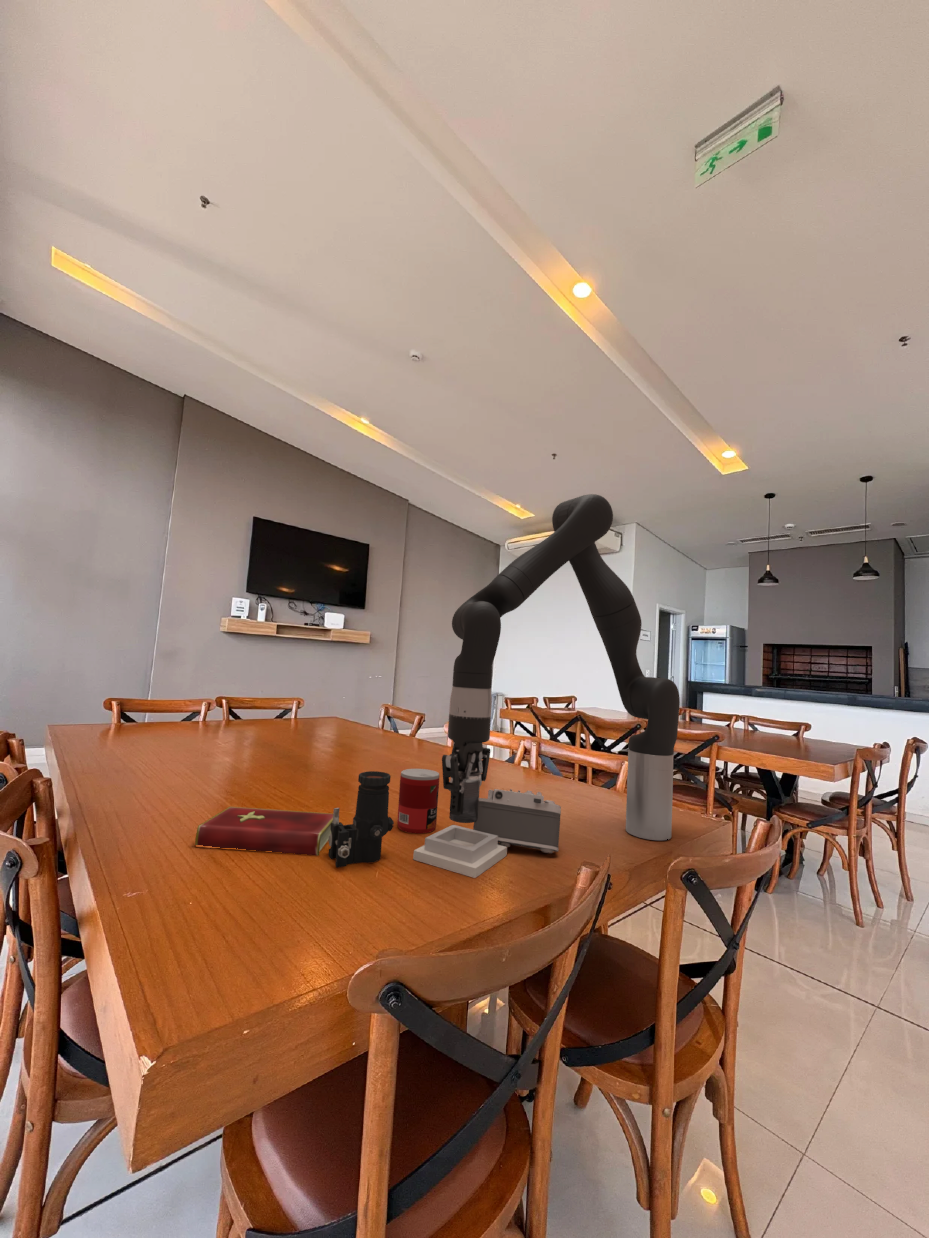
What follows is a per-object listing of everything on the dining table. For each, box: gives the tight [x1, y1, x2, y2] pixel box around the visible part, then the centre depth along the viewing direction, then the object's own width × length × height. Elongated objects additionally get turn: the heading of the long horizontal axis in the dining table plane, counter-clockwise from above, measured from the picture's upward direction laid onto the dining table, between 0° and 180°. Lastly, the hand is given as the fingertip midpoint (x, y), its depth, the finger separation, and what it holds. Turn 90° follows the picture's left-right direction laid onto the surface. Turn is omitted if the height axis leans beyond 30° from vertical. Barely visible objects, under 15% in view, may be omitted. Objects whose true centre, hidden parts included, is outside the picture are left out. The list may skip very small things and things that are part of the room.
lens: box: [448, 770, 482, 824], centre depth 90 cm, size 5×5×8 cm
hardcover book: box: [194, 806, 333, 857], centre depth 92 cm, size 12×21×4 cm, turn 90°
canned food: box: [396, 768, 440, 835], centre depth 104 cm, size 8×8×11 cm
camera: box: [472, 788, 562, 855], centre depth 98 cm, size 9×16×10 cm, turn 84°
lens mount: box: [412, 824, 508, 879], centre depth 89 cm, size 12×12×4 cm
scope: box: [327, 770, 394, 868], centre depth 86 cm, size 8×14×10 cm
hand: (464, 810), depth 90 cm, fingers closed on lens, 5 cm apart
